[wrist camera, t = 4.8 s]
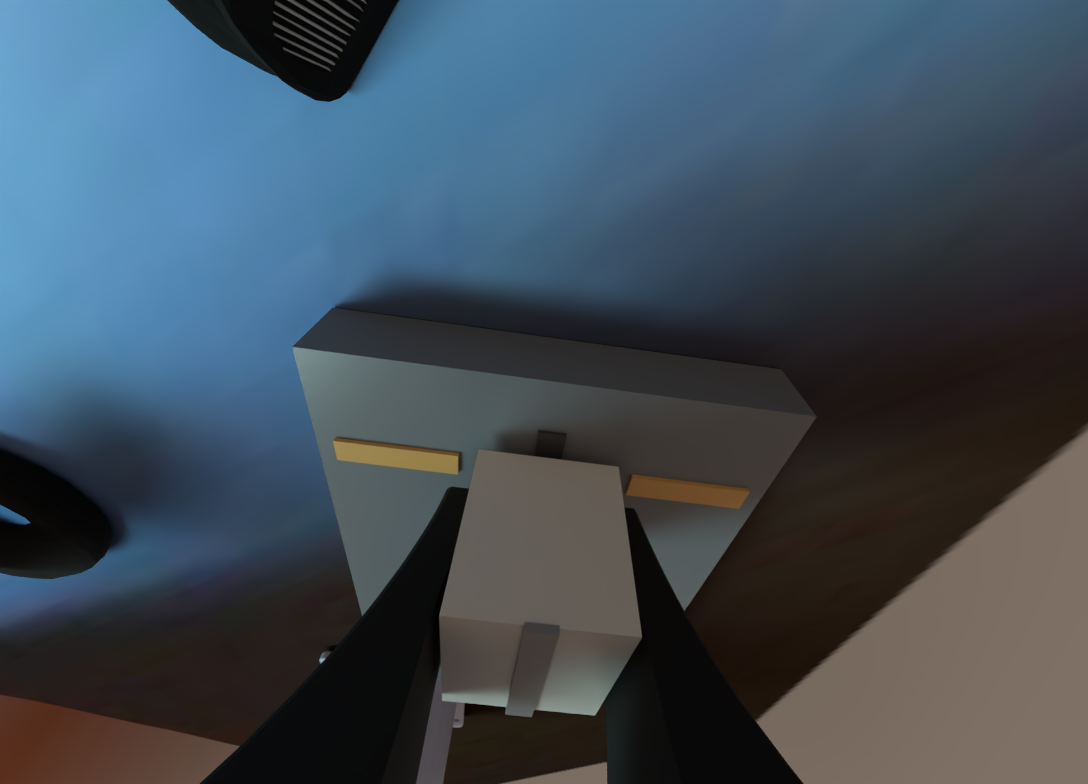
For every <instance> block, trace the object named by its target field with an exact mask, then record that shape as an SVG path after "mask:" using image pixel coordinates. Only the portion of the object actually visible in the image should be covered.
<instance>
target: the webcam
mask: <svg viewBox="0 0 1088 784" xmlns="http://www.w3.org/2000/svg"><path fill="white" fill-rule="evenodd" d="M0 505H2V506H4V507H6V508H8V509H10V510H12V511H13V512H15V513H17V514H19V515H21V516H23V517H25V518H26V519H27V520H28V521H29V522H30V524H26V525H20V524H0V573H3V574H8V575H12V576H19V577H28V578H39V579H54V578H58V577H63V576H69V575H74V574H78V573H82V572H84V571H86V570H88V569H90V568H92V567H93V566H94V565H95V564H96V563H97V562H98V561H99V560H100V559H101V558H102V557H104V556H105V554H106V552H107V550H108V548H109V546H110V543H111V535H110V528H109V525H108V523H107V520H106V518H105V516H103V515H102V514H101V513H100V512H99V511H98V510H97V509H96V508H95V507H94V506H93V505H91V504H90V503H89V502H88V501H87V500H86V499H85V498H84V497H83V496H82V495H81V494H79V493H78V492H77V491H76V490H75V489H74V488H72V487H71V486H69V485H67V484H66V483H64V482H62V481H61V480H59V479H58V478H56V477H54V476H53V475H51V474H49V473H48V472H46V471H44V470H42V469H40V468H38V467H37V466H35V465H33V464H30V463H28V462H26V461H24V460H22V459H19V458H17V457H14V456H12V455H9V454H7V453H5V452H2V451H0Z"/></svg>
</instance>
